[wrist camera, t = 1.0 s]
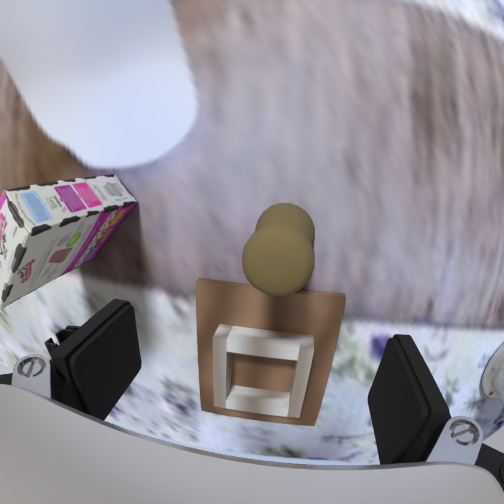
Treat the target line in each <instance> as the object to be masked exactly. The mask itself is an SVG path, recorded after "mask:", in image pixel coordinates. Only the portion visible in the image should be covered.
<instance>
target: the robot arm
mask: <svg viewBox="0 0 504 504" xmlns="http://www.w3.org/2000/svg"><path fill="white" fill-rule="evenodd" d="M51 356H52V359H51V360H50V361H49V360H48V359H47V358H46V357H45V356H43V355H39V354H32V355H27V356H25V357H22V358H21V359H20V360H18V361H17V362H16V364H15V366H14V368H13V373H10V374H3V375H0V504H504V453H502V452H499V451H498V450H495V449H493V448H491V447H489V446H487V445H485V444H483V443H482V441H483V431H482V428H481V427H480V425H479V424H478V423H477V422H476V421H474V420H473V419H471V418H469V417H465V416H456V417H453V418H452V417H451V415H450V413H449V408H448V406H447V404H446V402H445V400H444V398H443V396H442V394H441V392H440V390H439V388H438V386H437V384H436V382H435V380H434V378H433V376H432V374H431V372H430V370H429V368H428V367H427V365H426V363H425V361H424V359H423V357H422V355H421V353H420V352H419V350H418V348H417V346H416V344H415V343H414V341H413V339H412V337H411V336H410V335H401V334H395V335H394V336H393V338H389V339H388V341H387V344H386V347H385V350H384V353H383V356H382V359H381V362H380V365H379V368H378V370H377V373H376V376H375V378H374V381H373V384H372V386H371V389H370V391H369V394H368V405H369V410H370V415H371V419H372V424H373V429H374V434H375V439H376V444H377V449H378V455H379V460H380V465H347V466H346V465H341V466H340V465H338V466H336V465H306V464H292V463H280V462H271V461H261V460H254V459H247V458H241V457H235V456H228V455H223V454H217V453H213V452H208V451H203V450H199V449H194V448H190V447H186V446H182V445H178V444H174V443H170V442H166V441H163V440H160V439H156V438H153V437H149V436H146V435H143V434H140V433H137V432H134V431H131V430H128V429H125V428H122V427H119V426H117V425H114V424H111V423H109V422H105V421H104V420H105V419H106V417H107V416H108V414H109V413H110V412H111V410H112V409H113V407H114V406H115V404H116V403H117V402H118V400H119V399H120V397H121V396H122V395H123V393H124V392H125V390H126V389H127V388H128V386H129V385H130V383H131V382H132V381H133V379H134V378H135V376H136V375H137V374H138V372H139V371H140V369H141V356H140V350H139V343H138V336H137V329H136V321H135V313H134V308H133V306H131V305H130V303H129V302H128V301H124V300H119V299H114V300H112V301H111V302H110V303H109V304H107V305H106V306H105V307H104V308H102V309H101V310H100V311H99V312H98V313H96V314H95V315H94V316H93V317H92V318H90V319H89V320H88V321H87V322H86V323H84V324H83V325H82V326H81V327H80V328H79V329H77V330H76V331H75V332H74V333H73V334H72V335H70V336H69V337H68V338H67V339H66V340H65V341H63V342H62V343H61V344H60V345H59V346H58V347H56V348H55V349H54V350H53V351H52V352H51ZM482 389H483V391H484V393H485V394H486V396H487V397H489V398H500V400H501V401H502V403H503V405H504V343H503V344H502V345H501V346H500V347H499V348H498V350H497V351H496V352H495V354H494V355H493V356H492V358H491V360H490V361H489V363H488V365H487V367H486V369H485V372H484V374H483V378H482Z"/></svg>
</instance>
